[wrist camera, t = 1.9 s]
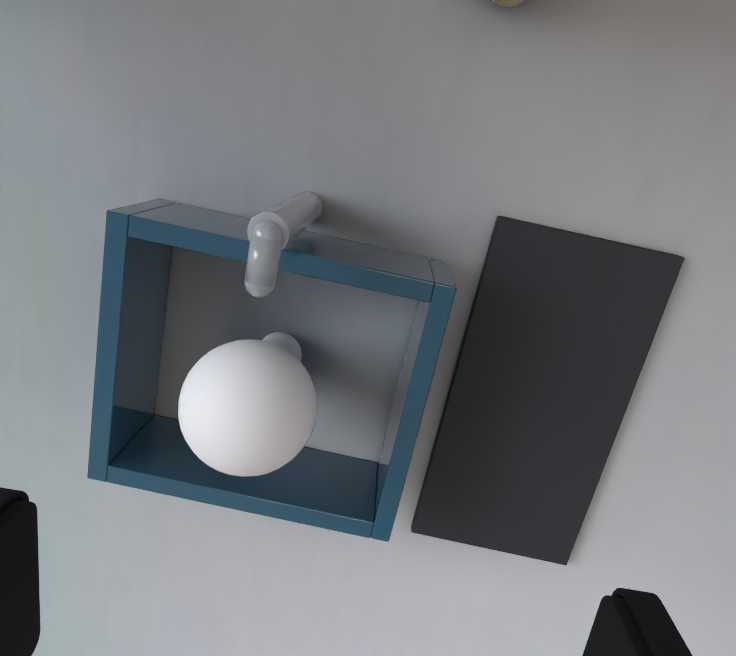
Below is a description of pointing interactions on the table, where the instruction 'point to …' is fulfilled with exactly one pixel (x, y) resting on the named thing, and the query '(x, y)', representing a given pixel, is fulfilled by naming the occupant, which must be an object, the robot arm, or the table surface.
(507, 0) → the food model
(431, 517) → the mat
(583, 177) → the table surface
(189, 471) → the sink
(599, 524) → the table surface
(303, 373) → the lightbulb
